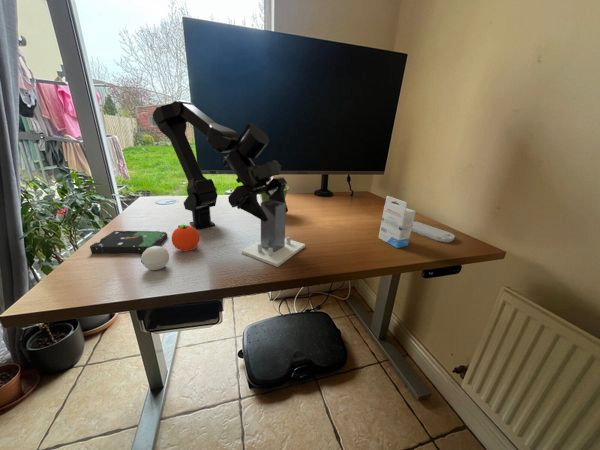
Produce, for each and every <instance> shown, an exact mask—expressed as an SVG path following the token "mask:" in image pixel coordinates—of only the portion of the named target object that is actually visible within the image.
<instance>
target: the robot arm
mask: <svg viewBox="0 0 600 450" xmlns="http://www.w3.org/2000/svg"><path fill="white" fill-rule="evenodd" d="M152 118H153V121H154V123H155V124H156V126H157V128H158V129H159V131H160V132H161V133H163V135H164V136H166V137H167V138H168V139H169V141H170V143H171V146H172V148H173V149H174V151H175V154H176V156H177V159H178V161H179V163H180V166H181V168H182V170H183V173H184V175H185V177H186V179H187V186H186V193H187V197H186V198H185V200H184V201H183V207H184V209H185V210H187V211H190V212H191V213H192V214H191V215H192V221H189V224H190V226H191V227H193V228H195V229H196V230H199V229H203V228H208V227H209V228H210V227H213V226H216V223H214V222H213V221H212V217H211V208H212V207H215V206H216V204H217V199H218V192H217V191H218V189H217V188H216V186H215V184H214V180H212V178H207V177H205V176H204V174H203V171H202V169H201V167H200V165H199V163H198V160H197V158H196V156H195V154H194V151H193V149H192V146H191V145H190V141H189V139H188V137H187V134H186V133H187V132H186V131H187V127H188V124H187V123H189V124H190V125H191V126H193V127H194V128H195V129H196V130H197V131H199V132H200V133H201V134H203V135H204V136H205V138H206V142H207V144H209V146H210V147H211V148H212V149H213V150H214V151H215V152H216V153H218V154H220V153H222V154H223V153H228V154H227V156H223V161H222V167H223V168H225V167H230V168H231V170H233V172H234V174H235V175H236V177H237V178H236V180H235V181H236V182H237V184H240V183H241V184H242V185H237V186H235V188H234V189H233V191H232V192H231V193H230V195H228V203H229V204H230V206H231V208H237V209H238V210H240V209H241V211H244V212H246V213H248V214H250V215H252V216H253V217H256V218H257V219H259V220H260V221H261V220H262V221H264V222H266V221H267V220H268V218H267V216H266V214H265V213H264V211H263V210H262V208H261V204H260V203H259V202H258V195H261V193H266V194H267V195H269V196H270V197H269V199H270V200H275V201H279V202H283V203H286V214H287V213H288V212H289V210H288V206H287V202H286V197H285V198H284V188H285V187H286V186H287V184H288V182H287V181H286V179H285V178H284V177H282V176H279V175H280V174H281V171H282V165H281V164H280V163H279V161H278V160H276V159H275V160H271V161H269V162H267V163H265V164H262V165H259V164H257V165H256V164H255V163H254V162H253V160H252V159H256V158H258V156H259V155H260V154H261V153H262V151H264V149H265V148H266V147H267V145H268V144H269V143H270V138H269V136H268V134H267V133H266V132H264V131H263V130H262V129H260V128H259V127H257V126H256V125H255V124H254V123H247V124H246V125H245V127H244V129H243V131H242V132H241V134H240V135H239V133H238V132H237V131H236V130H234V129H232V128H230V127H227V126H224V125H222V124H218V123H217V122H215V120H213V119H212V118H211V117H209V116H208V115H206V114H205V113H204V112H203V111H201V110H200V109H199V108H197V107H196V106H195V105H194V103H193V102H192V101H188V100H180V99H179V100H178V99H177V100H174V101H173V102H171V103H167V104H164V105H162V106H157V107H156V108H155V109H154V110H153V112H152ZM274 176H278V177H274ZM272 177H274V178H272Z"/></svg>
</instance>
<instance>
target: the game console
mask: <svg viewBox="0 0 600 450" xmlns="http://www.w3.org/2000/svg"><path fill="white" fill-rule="evenodd" d="M411 233H414V234H417V235H419V236H423V237H425V238H427V239H429V240H430V239H431V240H433V241H436V242H440V243H445V244H446V243H451V242H453V241H454V240H455V237H456V236H455V235H454V233H452V232H450V231H446V230H443V229H440V228H437V227H434V226H431V225H428V224H425V223H423V222H419V221H416V220H414V221H413V225H412V229H411Z"/></svg>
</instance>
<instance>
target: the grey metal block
mask: <svg viewBox="0 0 600 450" xmlns="http://www.w3.org/2000/svg"><path fill="white" fill-rule="evenodd" d="M286 205H287V202H286V203H283V202H279V201H275V200H269V201H265V202H260V206H261V208H262V210H263V211H264V213H265V214H266V216H267V218H268V220H267V221H266V222H264V221H262V220H261V219H260V241H261V244H262V248H265V249H268V248H270V247H271V248H273V252H276V251H278V250H279V249H281V248H283V247H284V246H285V238H286V234H285V233H286V217H287V216H286V215H287V213H286Z"/></svg>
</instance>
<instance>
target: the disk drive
mask: <svg viewBox="0 0 600 450" xmlns="http://www.w3.org/2000/svg"><path fill="white" fill-rule="evenodd" d="M168 237H169V236H168V233H167V232H166V231H157V230H154V231H153V230H151V231H149V230H147V231H144V230H138V231H137V230H113V231H112V232H110V233H109V234H107V235H106V236H104V237H103V238H101V239H100V240H99V242H94V243H92V244H91V245H90V246H89V249H90V252H91V255H142V254H143V252H144V251H145V250H146V249H147V248H150V247H152V246H162V245H163V244H164V243H165V242H166V241H167V239H169V238H168Z"/></svg>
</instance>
